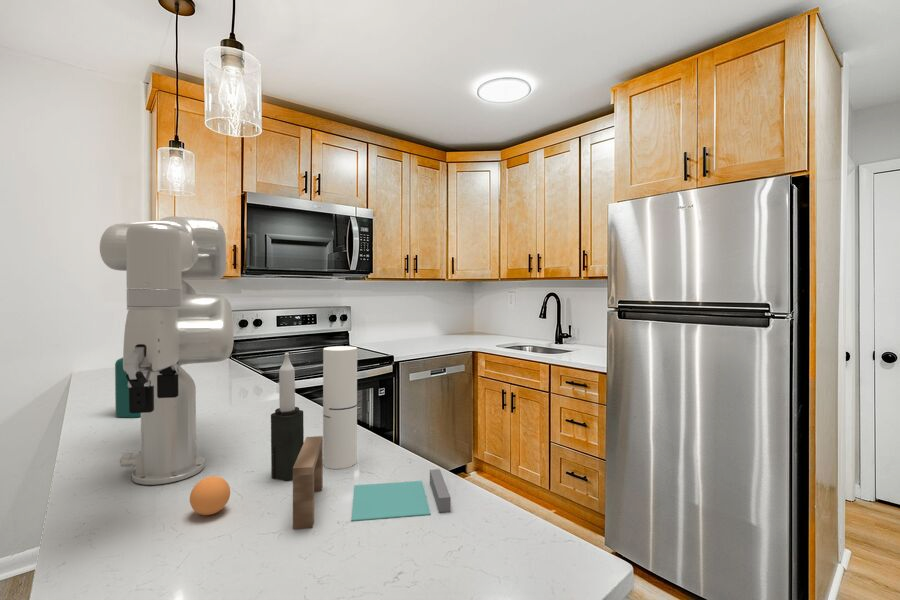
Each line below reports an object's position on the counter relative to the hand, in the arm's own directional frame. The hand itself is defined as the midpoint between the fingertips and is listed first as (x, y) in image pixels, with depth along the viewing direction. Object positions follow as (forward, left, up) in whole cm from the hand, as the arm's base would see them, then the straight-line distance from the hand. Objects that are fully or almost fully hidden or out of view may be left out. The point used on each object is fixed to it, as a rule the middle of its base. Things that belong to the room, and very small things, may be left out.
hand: (155, 404), depth 73 cm
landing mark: (+38, 0, -19) cm, 43 cm away
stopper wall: (+47, 0, -19) cm, 51 cm away
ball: (+8, 0, -16) cm, 18 cm away
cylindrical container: (+28, +19, -19) cm, 39 cm away
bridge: (+24, 0, -19) cm, 31 cm away
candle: (+18, +14, -19) cm, 30 cm away
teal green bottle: (-34, +67, -19) cm, 77 cm away
